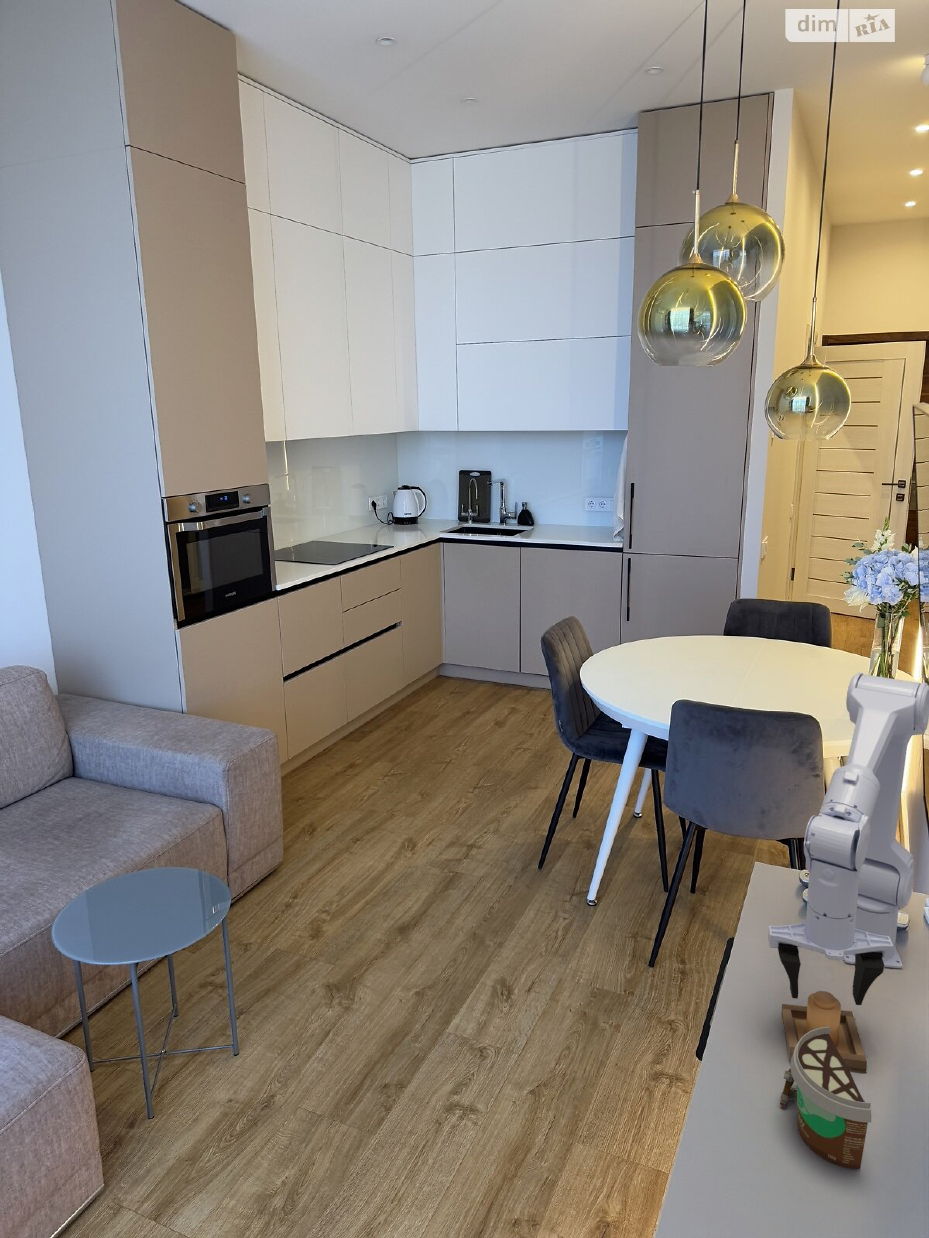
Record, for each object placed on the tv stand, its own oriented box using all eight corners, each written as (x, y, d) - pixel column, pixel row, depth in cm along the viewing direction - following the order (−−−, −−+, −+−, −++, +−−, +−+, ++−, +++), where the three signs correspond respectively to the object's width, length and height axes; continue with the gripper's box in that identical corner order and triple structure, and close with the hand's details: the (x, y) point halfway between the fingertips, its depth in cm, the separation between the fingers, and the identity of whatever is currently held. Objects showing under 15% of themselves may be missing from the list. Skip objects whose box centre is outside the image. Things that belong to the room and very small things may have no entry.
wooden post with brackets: (771, 1103, 102) (780, 1066, 102) (800, 1091, 108) (808, 1056, 108) (785, 1111, 101) (794, 1074, 101) (813, 1098, 106) (822, 1063, 107)
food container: (772, 1092, 105) (776, 1024, 102) (823, 1091, 105) (828, 1023, 102) (808, 1181, 93) (814, 1107, 90) (865, 1181, 93) (872, 1106, 90)
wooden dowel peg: (803, 1025, 114) (805, 985, 113) (835, 1028, 113) (838, 988, 112) (808, 1047, 110) (810, 1006, 109) (841, 1051, 110) (844, 1009, 108)
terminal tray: (781, 1014, 117) (781, 1003, 117) (851, 1022, 115) (852, 1011, 115) (790, 1063, 109) (791, 1052, 108) (866, 1073, 107) (867, 1061, 106)
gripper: (774, 919, 105) (769, 1011, 108) (902, 930, 101) (893, 1025, 105) (768, 886, 111) (763, 974, 115) (888, 896, 108) (880, 986, 111)
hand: (825, 996), depth 110 cm, fingers open, 7 cm apart
